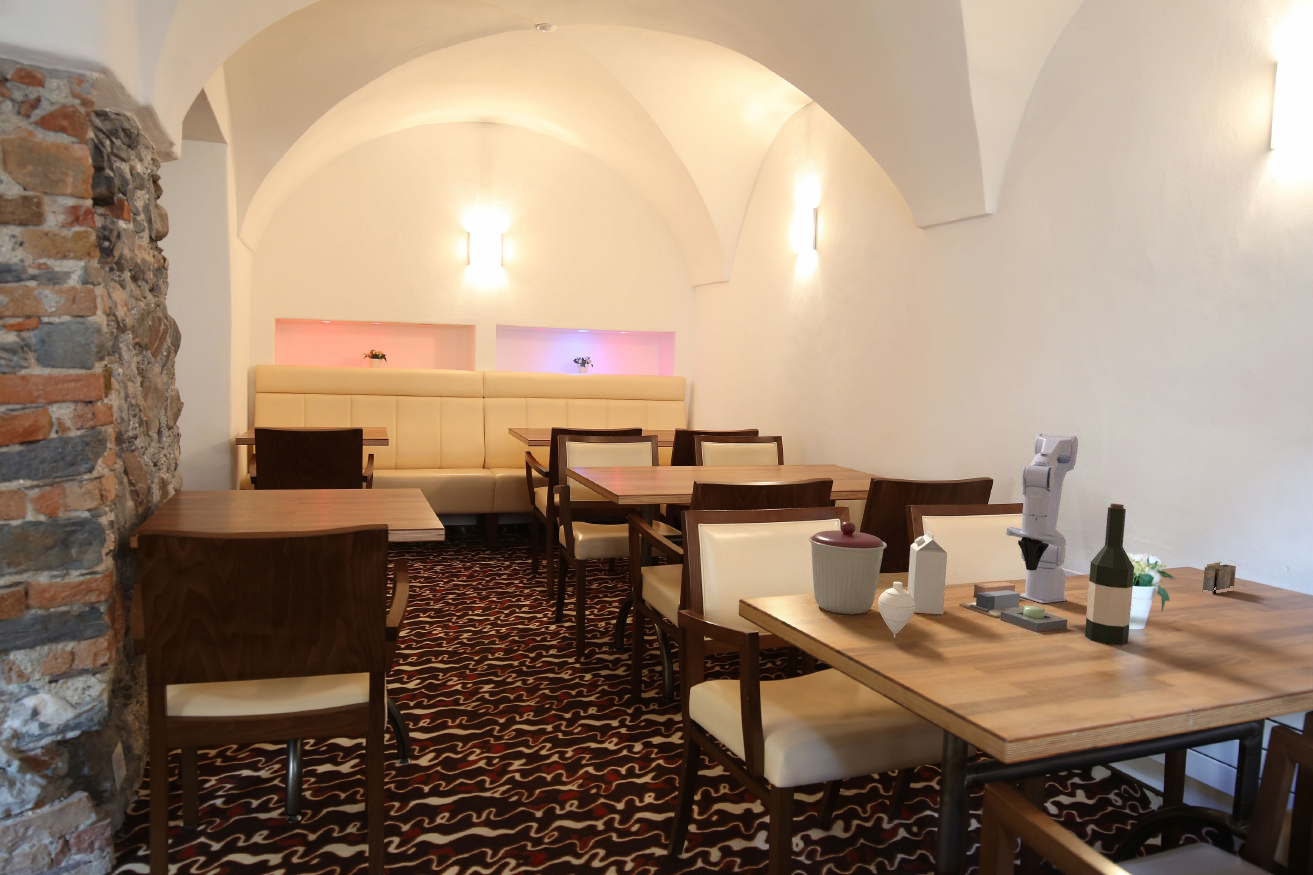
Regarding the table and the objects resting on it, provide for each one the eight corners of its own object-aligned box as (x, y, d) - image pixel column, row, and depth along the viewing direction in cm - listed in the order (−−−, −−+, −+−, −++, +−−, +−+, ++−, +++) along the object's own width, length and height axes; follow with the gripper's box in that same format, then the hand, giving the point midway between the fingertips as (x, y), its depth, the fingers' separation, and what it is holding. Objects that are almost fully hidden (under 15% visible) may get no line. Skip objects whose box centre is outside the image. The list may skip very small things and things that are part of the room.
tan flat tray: (999, 601, 209) (999, 597, 209) (1036, 612, 199) (1036, 608, 199) (959, 605, 203) (959, 601, 203) (995, 617, 193) (995, 613, 193)
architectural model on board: (1214, 596, 226) (1217, 562, 226) (1202, 593, 229) (1205, 559, 228) (1235, 593, 232) (1238, 559, 231) (1223, 590, 235) (1226, 557, 234)
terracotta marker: (1003, 594, 217) (1004, 581, 216) (1014, 597, 214) (1015, 584, 213) (973, 597, 212) (974, 584, 212) (984, 600, 209) (984, 587, 209)
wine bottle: (1084, 640, 177) (1095, 504, 176) (1084, 631, 185) (1095, 500, 183) (1128, 647, 174) (1140, 508, 172) (1127, 638, 181) (1138, 504, 179)
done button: (1031, 617, 192) (1032, 604, 192) (1048, 622, 188) (1049, 609, 188) (1018, 619, 190) (1019, 606, 190) (1034, 624, 186) (1035, 611, 186)
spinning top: (915, 645, 169) (918, 588, 168) (877, 641, 170) (880, 584, 170) (911, 634, 176) (914, 579, 176) (874, 630, 178) (878, 576, 177)
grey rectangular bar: (1007, 603, 205) (1008, 589, 204) (1018, 606, 202) (1019, 593, 201) (975, 606, 200) (976, 593, 200) (986, 610, 197) (987, 596, 197)
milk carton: (936, 607, 200) (941, 530, 199) (943, 615, 193) (948, 536, 192) (906, 605, 201) (911, 529, 200) (912, 613, 194) (917, 534, 193)
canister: (826, 594, 208) (831, 513, 206) (894, 609, 196) (900, 523, 195) (791, 607, 194) (795, 520, 192) (861, 624, 182) (867, 531, 181)
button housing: (1029, 615, 196) (1030, 607, 196) (1066, 627, 187) (1067, 619, 187) (1000, 619, 191) (1000, 611, 191) (1036, 631, 182) (1037, 623, 182)
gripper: (999, 510, 203) (995, 564, 204) (1050, 520, 190) (1045, 577, 191) (1019, 509, 206) (1015, 562, 207) (1070, 519, 193) (1066, 575, 194)
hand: (1031, 569), depth 199 cm, fingers closed
